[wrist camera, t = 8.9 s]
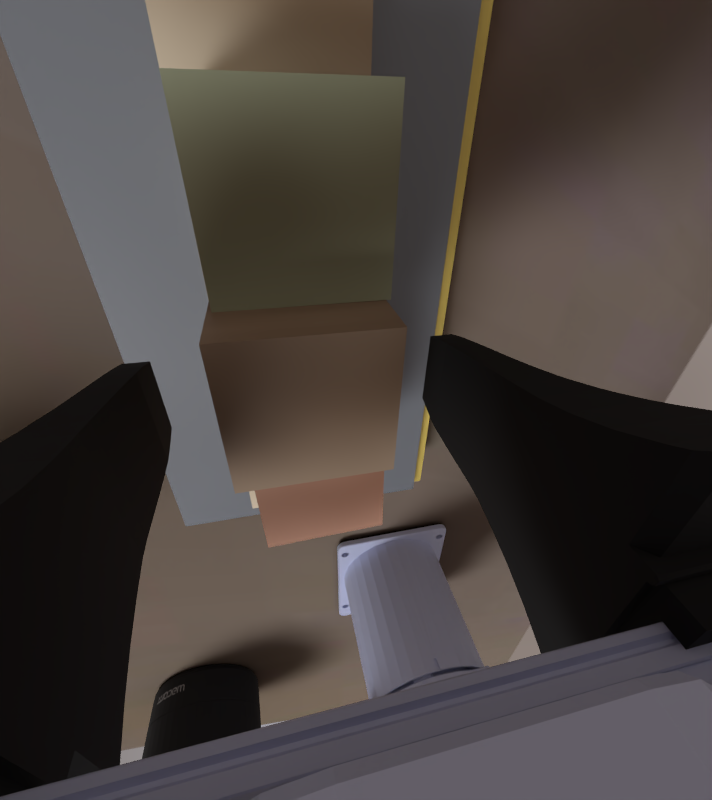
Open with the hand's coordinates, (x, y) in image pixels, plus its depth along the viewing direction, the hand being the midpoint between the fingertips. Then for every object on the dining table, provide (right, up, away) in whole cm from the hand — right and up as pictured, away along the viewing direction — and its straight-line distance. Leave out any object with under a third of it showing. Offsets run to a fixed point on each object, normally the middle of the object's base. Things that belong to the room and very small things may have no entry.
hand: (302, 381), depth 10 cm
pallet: (-1, +3, +4) cm, 5 cm away
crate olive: (-1, +6, 0) cm, 6 cm away
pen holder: (-12, -26, +25) cm, 38 cm away
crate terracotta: (0, -1, +5) cm, 5 cm away
